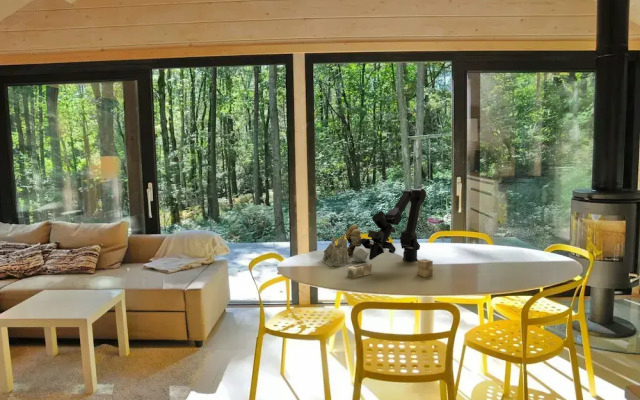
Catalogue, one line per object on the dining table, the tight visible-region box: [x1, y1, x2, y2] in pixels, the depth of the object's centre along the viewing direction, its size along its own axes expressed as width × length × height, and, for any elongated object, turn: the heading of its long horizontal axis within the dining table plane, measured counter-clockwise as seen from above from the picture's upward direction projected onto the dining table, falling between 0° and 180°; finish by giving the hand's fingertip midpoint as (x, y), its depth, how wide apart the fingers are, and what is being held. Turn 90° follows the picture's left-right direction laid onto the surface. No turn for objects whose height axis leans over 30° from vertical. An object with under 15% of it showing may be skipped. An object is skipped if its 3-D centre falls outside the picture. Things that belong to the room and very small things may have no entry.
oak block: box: [416, 258, 434, 278], centre depth 215 cm, size 5×5×7 cm
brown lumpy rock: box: [345, 224, 363, 257], centre depth 262 cm, size 18×12×17 cm, turn 1°
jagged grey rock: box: [322, 234, 351, 267], centre depth 242 cm, size 16×16×15 cm
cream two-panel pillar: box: [346, 262, 373, 279], centre depth 217 cm, size 5×4×12 cm
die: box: [352, 246, 369, 263], centre depth 244 cm, size 8×9×10 cm
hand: (370, 259), depth 221 cm, fingers closed
